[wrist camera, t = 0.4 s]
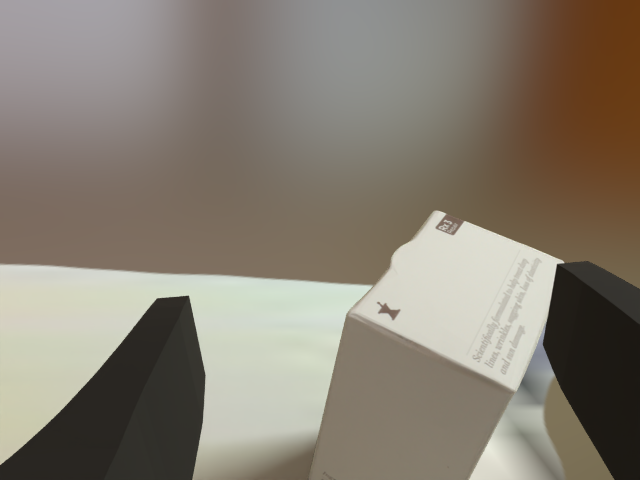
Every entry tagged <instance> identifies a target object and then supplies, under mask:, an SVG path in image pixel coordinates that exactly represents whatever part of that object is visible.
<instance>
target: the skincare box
mask: <svg viewBox="0 0 640 480" xmlns="http://www.w3.org/2000/svg"><path fill="white" fill-rule="evenodd" d="M560 263H564V262H563V261H562V260H559V259H557V258H554V257H552V256H550V255H548V254H545V253H543V252H541V251H538V250H536V249H533V248H531V247H528V246H526V245H523V244H520V243H518V242H516V241H513V240H510V239H508V238H505V237H503V236H500V235H498V234H496V233H493V232H491V231H488V230H485V229H483V228H481V227H478V226H475V225H473V224H471V223H468V222H465V221H462V220H460V219H457V218H455V217H452V216H450V215H447V214H445V213H443V212H440V211H433V212H432V214H431V215H430V216H429V218H428V219H427V220H426V221H425V223H424V224H423V226H422V227H421V228H420V230H419V231H418V232H417V233H416V235H415V236H414V237H413V238H412V239H411V241H410V242H409V243H406V244H404V245H402V246H401V247H400V248H398V250H396V252H395V253H394V254H393V256H392V258H391V263H390V266H389V267H388V269H387V270H386V271H385V272H384V274H383V275H382V276H381V277H380V278H379V280H378V281H377V282H376V283H375V285H374V286H373V287H372V288H371V289H370V290H369V291H368V292H367V293H366V294H365V295H364V296H363V297H362V298H361V299H360V300H359V301H358V302H357V303H356V304H355V305H354V306H353V307H352V308H351V309H350V310H349V311H348V313H347V315H346V319H345V323H344V327H343V331H342V336H341V340H340V344H339V349H338V353H337V357H336V361H335V366H334V370H333V374H332V379H331V383H330V387H329V392H328V396H327V400H326V404H325V409H324V413H323V417H322V422H321V426H320V430H319V435H318V439H317V443H316V447H315V451H314V456H313V460H312V465H311V469H310V474H309V478H308V480H469V478H470V476H471V474H472V473H473V471H474V469H475V467H476V465H477V463H478V461H479V459H480V457H481V455H482V454H483V452H484V450H485V448H486V446H487V444H488V442H489V440H490V438H491V436H492V434H493V433H494V431H495V429H496V427H497V425H498V423H499V421H500V419H501V417H502V415H503V413H504V411H505V410H506V408H507V406H508V404H509V402H510V400H511V399H512V397H513V395H514V394H515V393H516V391H517V389H518V387H519V385H520V383H521V381H522V378H523V376H524V374H525V372H526V369H527V367H528V365H529V362H530V360H531V358H532V355H533V353H534V350H535V348H536V345H537V343H538V340H539V338H540V335H541V332H542V330H543V327H544V325H545V322H546V320H547V317H548V312H549V306H550V301H551V295H552V289H553V283H554V278H555V272H556V266H557V264H560Z"/></svg>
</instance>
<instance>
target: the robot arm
mask: <svg viewBox="0 0 640 480" xmlns="http://www.w3.org/2000/svg"><path fill="white" fill-rule="evenodd" d="M543 346H544V349H545V351H546V354H547V356H548V359H549V361H550V364H551V367H552V369H553V371H554V374H555V376H556V378H557V381H558V382H559V385H560V387H561V389H562V391H563V393H564V395H565V397H566V398H567V400H568V402H569V404H570V405H571V407H572V409H573V410H574V412H575V414H576V416H577V417H578V419H579V421H580V422H581V424H582V426H583V428H584V429H585V431H586V433H587V434H588V436H589V438H590V439H591V441H592V442H593V444H594V446H595V447H596V449H597V451H598V453H599V454H600V456H601V458H602V459H603V461H604V463H605V464H606V466H607V468H608V470H609V471H610V473H611V475H612V476H613V478H614V479H615V480H640V289H639V288H637V287H635V286H633V285H632V284H630V283H628V282H626V281H625V280H623V279H621V278H619V277H617V276H616V275H614V274H612V273H610V272H608V271H606V270H605V269H603V268H601V267H599V266H597V265H595V264H593V263H590V262H588V261H584V262H573V263H560V264H557V266H556V272H555V278H554V283H553V289H552V295H551V301H550V306H549V312H548V318H547V323H546V329H545V335H544V340H543ZM204 393H205V371H204V366H203V361H202V356H201V351H200V347H199V342H198V337H197V332H196V327H195V323H194V318H193V313H192V308H191V303H190V299H189V296H180V297H169V298H157V299H156V301H155V302H154V303H153V304H152V305H151V306H150V308H149V309H148V310H147V311H146V313H145V314H144V315H143V316H142V318H141V319H140V320H139V321H138V323H137V324H136V325H135V326H134V328H133V329H132V330H131V332H130V333H129V334H128V335H127V337H126V338H125V339H124V340H123V342H122V343H121V344H120V345H119V346H118V348H117V349H116V350H115V351H114V352H113V354H112V355H111V356H110V357H109V358H108V360H107V361H106V362H105V363H104V364H103V365H102V367H101V368H100V369H99V370H98V371H97V373H96V374H95V375H94V376H93V377H92V378H91V379H90V380H89V381H88V383H87V384H86V385H85V386H84V387H83V388H82V389H81V390H80V391H79V392H78V393H77V394H76V395H75V396H74V398H73V399H72V400H71V401H70V402H69V403H68V404H67V405H66V406H65V407H64V408H63V409H62V410H61V411H60V412H59V413H58V414H57V415H56V416H55V417H54V418H53V419H52V420H51V421H50V422H49V423H48V424H47V425H46V426H45V427H44V428H43V429H41V430H40V431H39V432H38V433H37V434H36V435H35V436H34V437H33V438H31V439H30V440H29V441H28V442H27V443H26V444H25V445H24V446H23V447H22V448H20V449H19V450H18V451H17V452H16V453H15V454H13V455H12V456H11V457H10V458H9V459H7V460H6V461H5V462H4V463H2V464H1V465H0V480H192V477H193V472H194V467H195V462H196V456H197V451H198V445H199V440H200V434H201V429H202V423H203V410H204Z"/></svg>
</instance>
